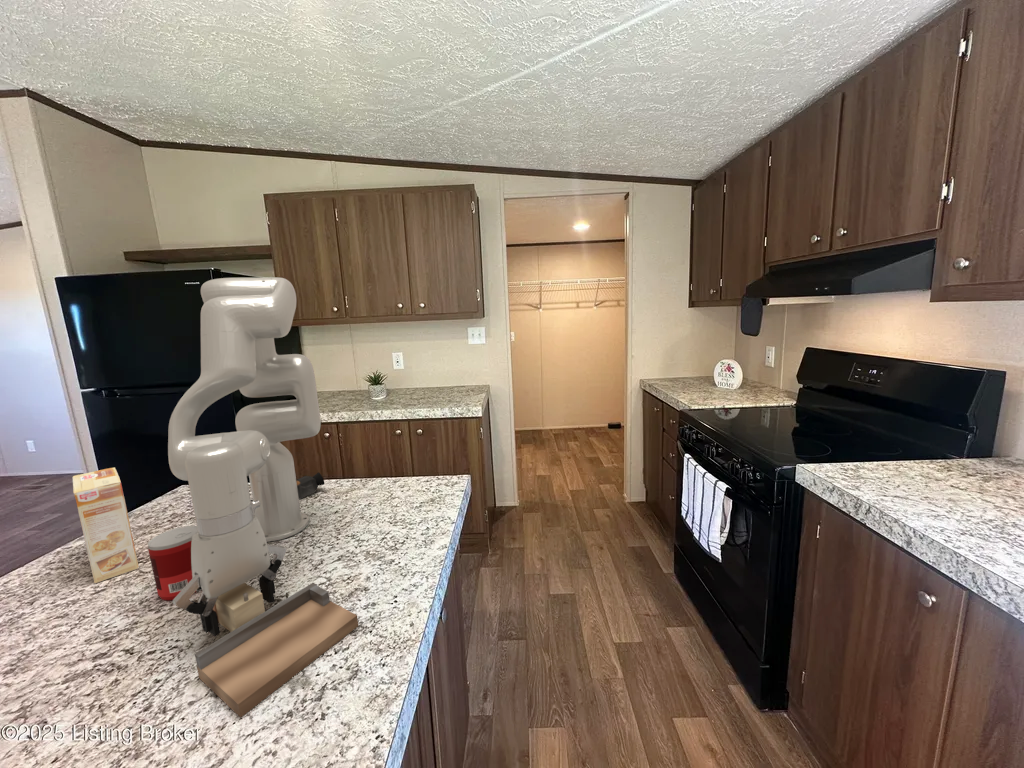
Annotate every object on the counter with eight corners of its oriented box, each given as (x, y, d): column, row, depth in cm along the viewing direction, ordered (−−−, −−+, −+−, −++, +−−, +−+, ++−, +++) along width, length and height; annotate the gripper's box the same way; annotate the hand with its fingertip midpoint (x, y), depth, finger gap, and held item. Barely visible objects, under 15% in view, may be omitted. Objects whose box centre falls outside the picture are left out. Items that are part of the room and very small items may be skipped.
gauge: (210, 619, 71) (202, 576, 70) (241, 601, 76) (234, 561, 74) (236, 638, 67) (228, 593, 65) (267, 618, 71) (261, 576, 70)
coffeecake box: (140, 568, 88) (121, 481, 85) (93, 585, 83) (71, 493, 80) (132, 544, 98) (115, 465, 95) (90, 558, 93) (70, 475, 90)
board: (199, 677, 59) (194, 653, 59) (315, 602, 74) (312, 582, 74) (240, 717, 53) (235, 690, 52) (358, 626, 68) (355, 604, 67)
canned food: (219, 578, 83) (210, 527, 81) (176, 605, 75) (165, 549, 74) (193, 572, 85) (183, 522, 84) (148, 597, 78) (137, 544, 76)
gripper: (268, 494, 76) (281, 580, 79) (149, 539, 62) (170, 642, 65) (290, 502, 72) (303, 592, 75) (169, 552, 58) (191, 661, 61)
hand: (242, 615), depth 70 cm, fingers open, 8 cm apart
